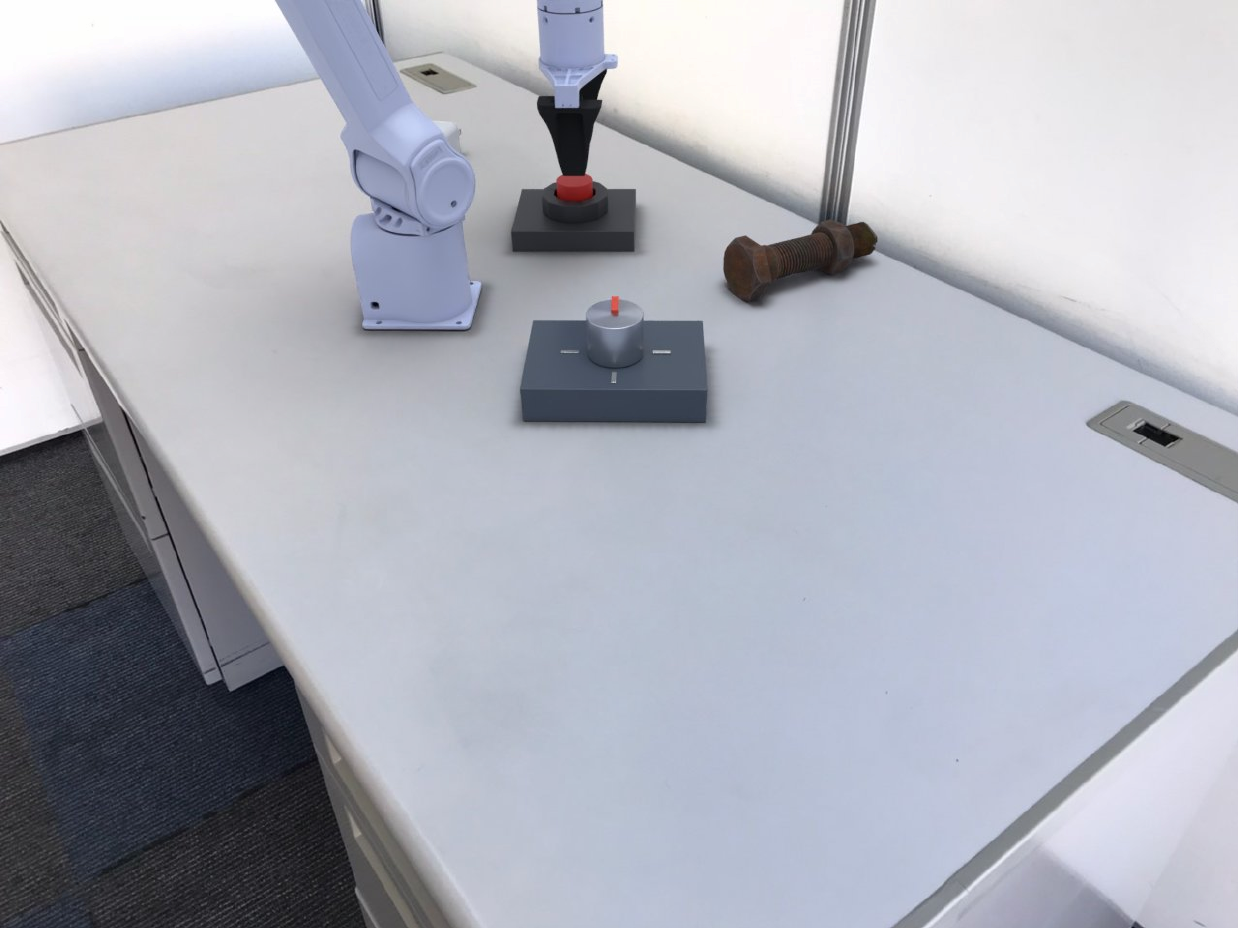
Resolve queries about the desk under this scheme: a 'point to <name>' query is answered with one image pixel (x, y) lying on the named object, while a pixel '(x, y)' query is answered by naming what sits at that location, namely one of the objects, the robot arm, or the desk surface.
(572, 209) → the button base
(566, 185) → the button
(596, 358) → the rotary knob
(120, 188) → the desk surface
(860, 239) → the bolt
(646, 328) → the valve panel
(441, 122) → the usb wall charger
